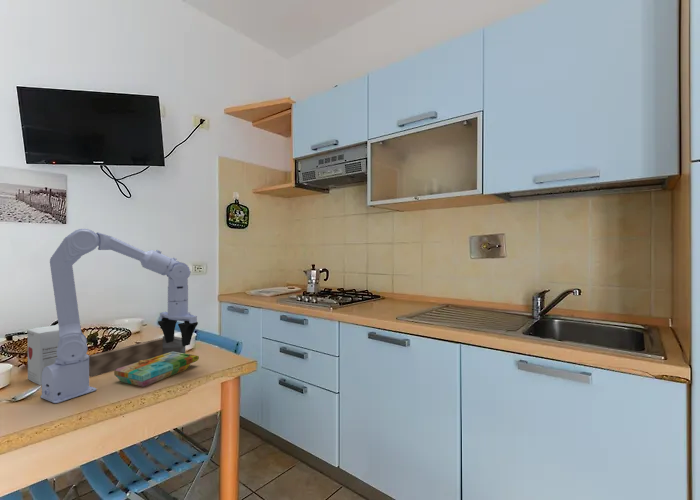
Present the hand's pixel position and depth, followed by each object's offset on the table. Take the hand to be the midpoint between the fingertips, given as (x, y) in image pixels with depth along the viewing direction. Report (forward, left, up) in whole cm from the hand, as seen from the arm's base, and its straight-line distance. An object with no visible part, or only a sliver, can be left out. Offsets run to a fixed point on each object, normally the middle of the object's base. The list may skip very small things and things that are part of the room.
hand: (177, 343), depth 110 cm
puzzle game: (-3, +4, -10) cm, 11 cm away
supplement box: (-20, +29, -9) cm, 37 cm away
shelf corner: (-2, +16, -9) cm, 18 cm away
